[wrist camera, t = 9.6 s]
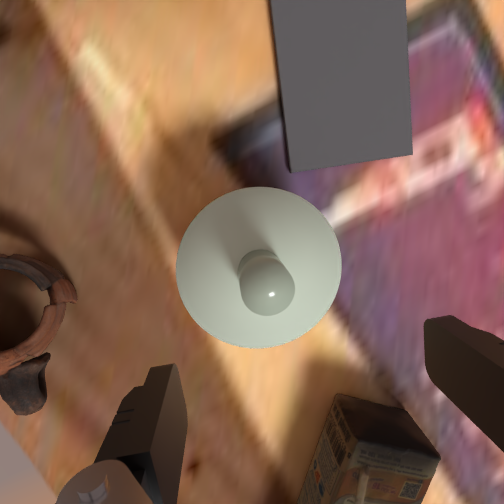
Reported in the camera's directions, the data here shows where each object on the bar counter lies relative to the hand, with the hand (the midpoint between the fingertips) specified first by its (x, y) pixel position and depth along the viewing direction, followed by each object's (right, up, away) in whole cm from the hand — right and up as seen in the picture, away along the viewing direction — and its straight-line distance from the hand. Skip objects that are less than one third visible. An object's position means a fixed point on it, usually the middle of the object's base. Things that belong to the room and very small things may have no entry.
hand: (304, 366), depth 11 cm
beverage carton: (+7, -19, +24) cm, 32 cm away
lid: (-1, +3, +13) cm, 13 cm away
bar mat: (+5, +18, +16) cm, 24 cm away
